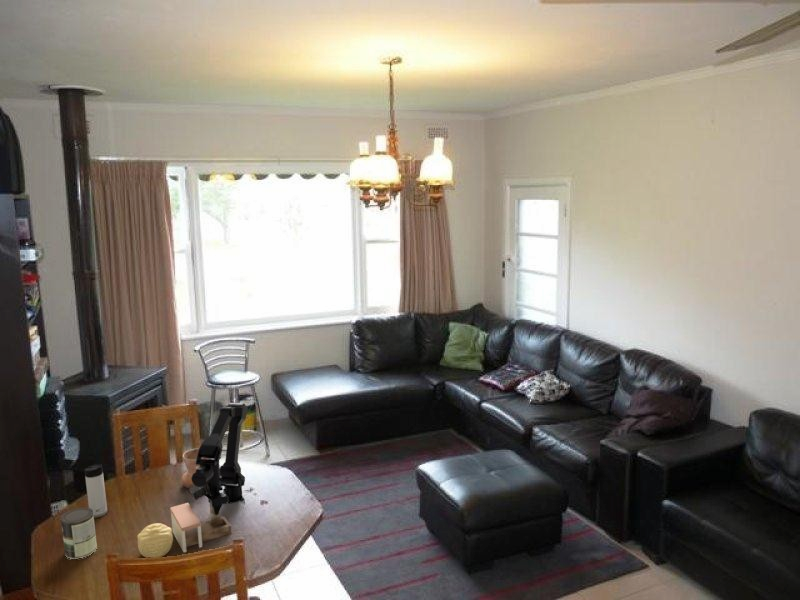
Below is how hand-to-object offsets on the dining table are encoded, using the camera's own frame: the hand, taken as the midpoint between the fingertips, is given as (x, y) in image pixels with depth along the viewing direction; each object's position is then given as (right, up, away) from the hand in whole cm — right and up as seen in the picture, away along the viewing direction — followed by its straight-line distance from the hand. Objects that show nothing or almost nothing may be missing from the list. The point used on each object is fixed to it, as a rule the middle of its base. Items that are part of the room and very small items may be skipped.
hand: (215, 512), depth 244 cm
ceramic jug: (-15, +2, +30) cm, 33 cm away
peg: (0, -3, +1) cm, 3 cm away
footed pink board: (-6, -5, -13) cm, 15 cm away
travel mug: (-47, -3, +6) cm, 48 cm away
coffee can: (-41, -8, -19) cm, 46 cm away
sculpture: (-14, -7, -21) cm, 27 cm away
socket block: (0, -5, -10) cm, 11 cm away
